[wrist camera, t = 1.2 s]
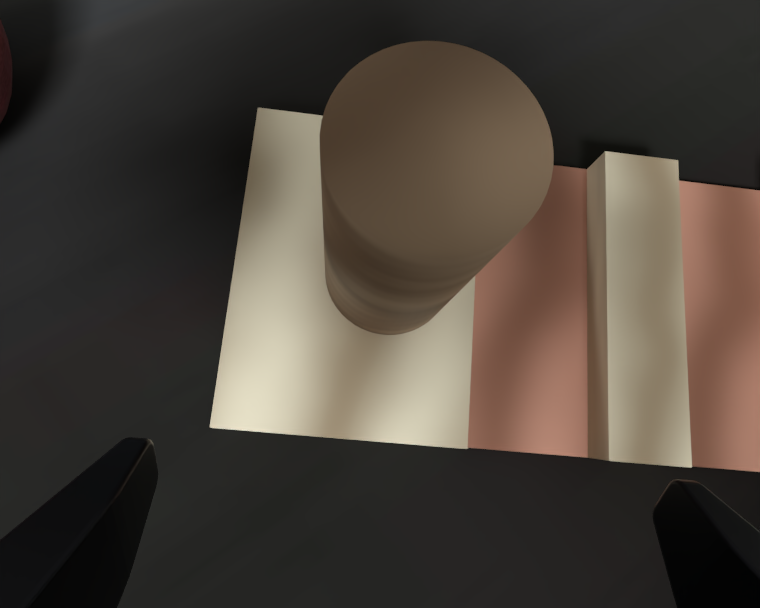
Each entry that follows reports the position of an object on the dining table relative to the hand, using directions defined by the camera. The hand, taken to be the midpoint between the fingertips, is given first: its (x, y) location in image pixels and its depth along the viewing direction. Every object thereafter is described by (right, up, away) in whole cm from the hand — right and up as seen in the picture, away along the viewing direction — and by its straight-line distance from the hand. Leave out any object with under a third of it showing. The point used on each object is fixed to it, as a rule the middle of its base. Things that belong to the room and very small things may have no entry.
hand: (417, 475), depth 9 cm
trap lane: (+10, +3, +14) cm, 18 cm away
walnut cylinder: (0, +4, +12) cm, 12 cm away
